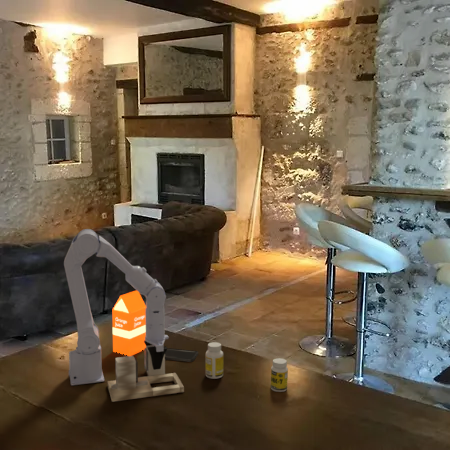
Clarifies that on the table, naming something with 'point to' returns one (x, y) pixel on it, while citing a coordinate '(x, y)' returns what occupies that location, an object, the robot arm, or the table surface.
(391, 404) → the table surface
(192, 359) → the phone
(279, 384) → the supplement bottle
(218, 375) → the supplement bottle
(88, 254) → the robot arm
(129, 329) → the orange juice
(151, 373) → the off-white rectangular block
